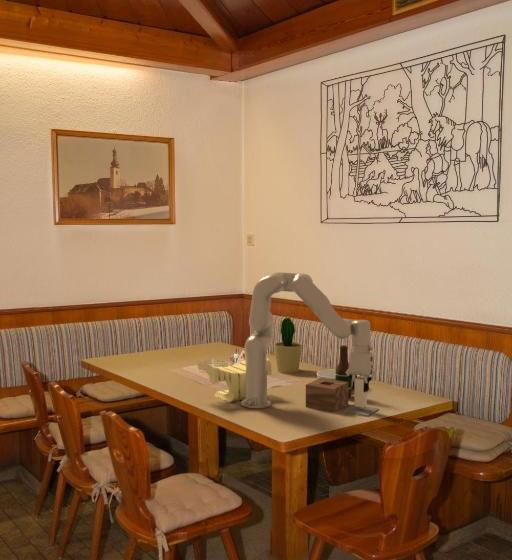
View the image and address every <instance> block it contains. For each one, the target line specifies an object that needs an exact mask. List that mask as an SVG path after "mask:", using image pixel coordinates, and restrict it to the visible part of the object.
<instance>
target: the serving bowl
mask: <svg viewBox="0 0 512 560" xmlns="http://www.w3.org/2000/svg"><path fill="white" fill-rule="evenodd" d="M335 372H336V368H335V369H334V368H328V369H323V370H322V369H321V370H319V371H317V372H316V379H319V378H323V379H330V380H335ZM357 377H360V375H358V376H357ZM352 387H353V381H352Z"/></svg>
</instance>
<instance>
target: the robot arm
mask: <svg viewBox="0 0 512 560" xmlns="http://www.w3.org/2000/svg"><path fill="white" fill-rule="evenodd" d="M280 292H289V293H295V295H297V297H299V298H300V299H301V300H302V302H304V303H305V305H307V306H308V308H310V310H312V312H313V313H314V315H315V316H316V317H317V318H318V319H319V321H320V322H321V323H322V325H324V326H325V328H327V330H328V331H330V332H331V333H332V335H333V336H335V337H336V338H337V339H339V340H345V339H347V338H348V337H350V336H351V337H352V343H351V344H352V346H351V348H352V350H351V351H350V355H349V358H348V363H349V368H348V369H347V371H346V374H347V375H348V376H349V377H350V378H351V379H352V381H353V386H352V389H353V391H354V392H355V378H357V376H358V375H359V376H360V377H363V378H364V380H365V383H364V392H367V393H368V391H369V389H370V387H369V386H370V382H371V381H372V380H373V379H375V378H377V373H376V372H375V365H374V356H373V352H372V351H374V347H372V345H371V322H370V320H367V319H351V318H344V317H341V316H340V315H339V313H338V312H336V310H335V308H333V305H332V304H331V302H330V299H329V298H328V296H326V294H324V293H323V291H322V290H320V289H319V287H318V286H316V285H315V283H314V282H313V278H312V277H311V275H309V274H307V273H298V272H297V273H295V272H293V273H292V272H275V273H271V274H269V275H267V276H264V277H262V278H261V279H259V280H258V281H257V282H256V283H255V285H254V287H253V289H252V296H251V303H250V310H249V318H248V324H249V328H250V329H251V331H250V332H251V334H250V336H249V337H247V339H246V341H245V343H244V358H245V359H244V361H245V362H246V396H245V399H244V400H240V404H241V406H243V407H244V408H247V409H265V408H268V407H270V406H271V405H272V403H271V401H270V400H269V399H268V375H267V358H268V357H267V351H268V350H269V348H270V346H271V344H272V336H273V327H274V316H273V314H272V312H271V310H270V309H271V304H272V296H273V295H275V294H278V293H280Z"/></svg>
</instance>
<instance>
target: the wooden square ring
mask: <svg viewBox="0 0 512 560" xmlns="http://www.w3.org/2000/svg"><path fill="white" fill-rule="evenodd" d="M347 405H349V398H348V382H344V381H337V380H330V379H323V378H319V379H318V378H316V379H315V380H313V381H310V382H308V383H307V384H305V408H311V409H316V410H321V409H322V411H327V410H328V412H333V411H334V412H337V411H338V410H340V409H342V408H344V407H345V406H347Z"/></svg>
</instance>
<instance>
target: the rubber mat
mask: <svg viewBox="0 0 512 560" xmlns="http://www.w3.org/2000/svg"><path fill="white" fill-rule="evenodd" d="M377 410H378V411H379V410H380V408H378V407H377V408H376V407H371V406H365V407H356V406H355V403H354V404H351V405H349V406H348V407H346V408H345V409H343V410H341V413H345V414H350V413H351V414H350V415H355V414H358V415H357V416H361V415H365V416H364V417H367V416H368V417H370V416H371V415H372V413H373V414H374V413H376V412H378V411H377ZM370 414H371V415H370ZM369 415H370V416H369Z"/></svg>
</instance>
